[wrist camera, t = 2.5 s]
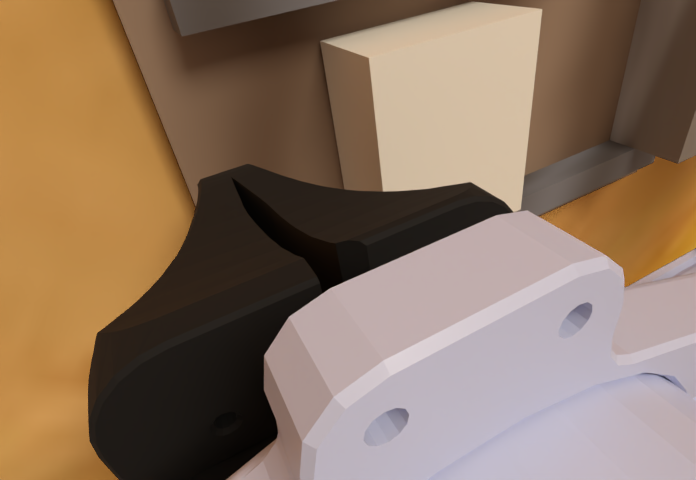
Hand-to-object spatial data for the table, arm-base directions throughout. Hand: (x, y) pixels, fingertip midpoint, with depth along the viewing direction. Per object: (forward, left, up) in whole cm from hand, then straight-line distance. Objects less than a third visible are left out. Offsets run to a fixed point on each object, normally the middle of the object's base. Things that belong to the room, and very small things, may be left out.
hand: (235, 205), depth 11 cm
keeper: (-6, 0, -2) cm, 7 cm away
